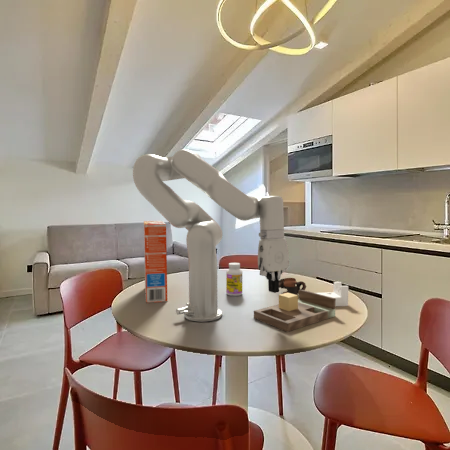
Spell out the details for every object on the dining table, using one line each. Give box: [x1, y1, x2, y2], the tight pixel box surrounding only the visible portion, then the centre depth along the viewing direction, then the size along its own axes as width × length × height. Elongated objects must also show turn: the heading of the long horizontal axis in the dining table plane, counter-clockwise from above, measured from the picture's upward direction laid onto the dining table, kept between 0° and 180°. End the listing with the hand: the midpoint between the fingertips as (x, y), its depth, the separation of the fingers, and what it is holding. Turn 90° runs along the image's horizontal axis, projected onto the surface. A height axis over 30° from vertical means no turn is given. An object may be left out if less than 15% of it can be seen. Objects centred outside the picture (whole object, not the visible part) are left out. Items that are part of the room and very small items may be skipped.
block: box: [278, 293, 299, 311], centre depth 116 cm, size 4×4×4 cm
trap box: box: [253, 288, 336, 333], centre depth 115 cm, size 23×15×6 cm, turn 126°
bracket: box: [316, 281, 349, 307], centre depth 130 cm, size 13×7×8 cm, turn 95°
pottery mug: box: [279, 277, 307, 296], centre depth 142 cm, size 12×10×8 cm
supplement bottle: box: [225, 262, 243, 297], centre depth 143 cm, size 7×7×13 cm
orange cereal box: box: [143, 220, 168, 303], centre depth 143 cm, size 23×8×30 cm, turn 14°
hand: (273, 291), depth 111 cm, fingers closed
